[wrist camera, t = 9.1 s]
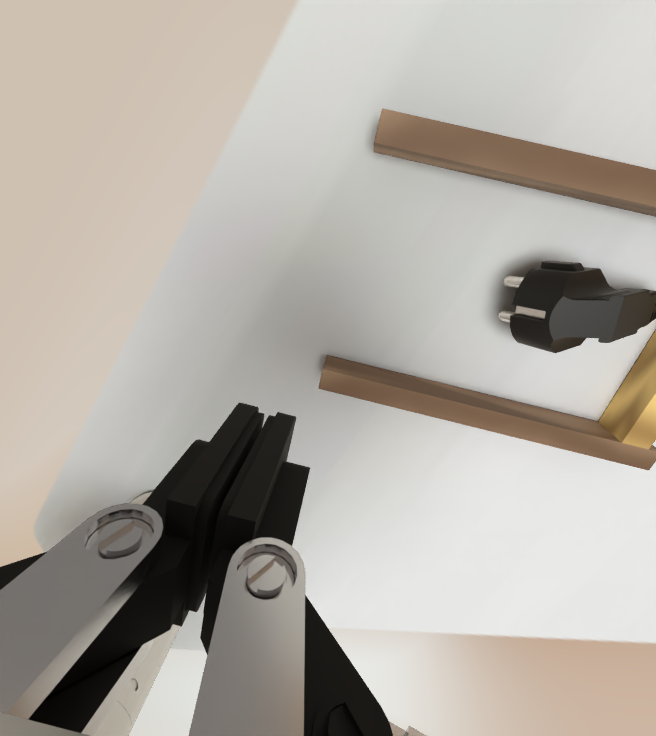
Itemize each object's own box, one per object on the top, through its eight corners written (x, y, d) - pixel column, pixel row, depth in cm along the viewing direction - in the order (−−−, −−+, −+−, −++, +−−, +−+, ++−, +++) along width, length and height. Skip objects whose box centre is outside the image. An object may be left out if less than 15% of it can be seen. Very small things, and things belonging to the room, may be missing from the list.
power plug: (675, 338, 25) (579, 375, 20) (565, 316, 31) (470, 340, 26) (705, 255, 23) (607, 273, 18) (581, 249, 29) (481, 261, 24)
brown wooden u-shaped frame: (623, 447, 29) (648, 470, 27) (323, 373, 30) (318, 388, 27) (783, 213, 22) (841, 212, 19) (381, 122, 23) (381, 108, 20)
